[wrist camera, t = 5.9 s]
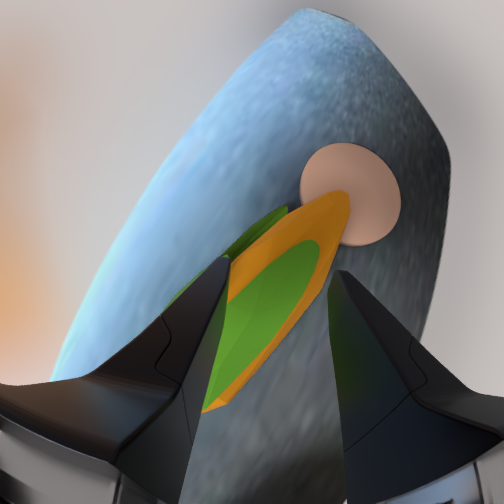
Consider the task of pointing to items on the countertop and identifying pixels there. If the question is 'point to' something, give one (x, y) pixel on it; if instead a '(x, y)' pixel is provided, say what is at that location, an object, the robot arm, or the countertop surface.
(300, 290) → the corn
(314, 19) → the countertop surface
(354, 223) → the pink flat disc
